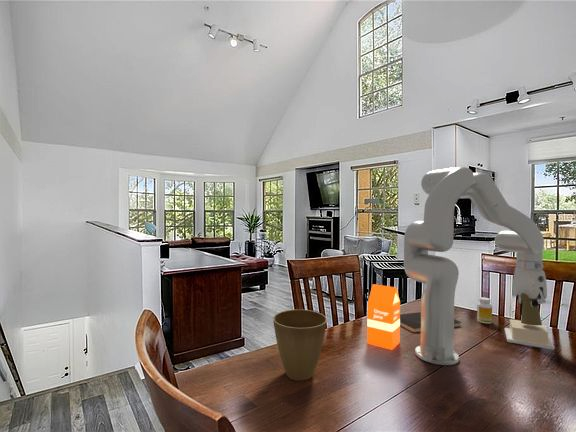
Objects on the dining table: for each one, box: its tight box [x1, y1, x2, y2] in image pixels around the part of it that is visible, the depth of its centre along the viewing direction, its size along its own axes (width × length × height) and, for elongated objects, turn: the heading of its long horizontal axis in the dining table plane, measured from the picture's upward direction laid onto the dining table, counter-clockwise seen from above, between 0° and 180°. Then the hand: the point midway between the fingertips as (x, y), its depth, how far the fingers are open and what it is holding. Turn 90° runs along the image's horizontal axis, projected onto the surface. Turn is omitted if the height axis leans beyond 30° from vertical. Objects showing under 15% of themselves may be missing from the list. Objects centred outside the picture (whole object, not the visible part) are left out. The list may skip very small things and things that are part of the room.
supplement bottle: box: [476, 296, 493, 325], centre depth 136 cm, size 5×5×10 cm
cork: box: [520, 293, 543, 325], centre depth 117 cm, size 6×6×11 cm
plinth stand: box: [504, 319, 555, 351], centre depth 118 cm, size 13×13×5 cm
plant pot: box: [272, 309, 328, 382], centre depth 91 cm, size 15×15×16 cm
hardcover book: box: [400, 311, 462, 333], centre depth 135 cm, size 16×23×2 cm
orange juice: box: [366, 283, 401, 351], centre depth 113 cm, size 8×9×20 cm
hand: (528, 316), depth 118 cm, fingers closed on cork
